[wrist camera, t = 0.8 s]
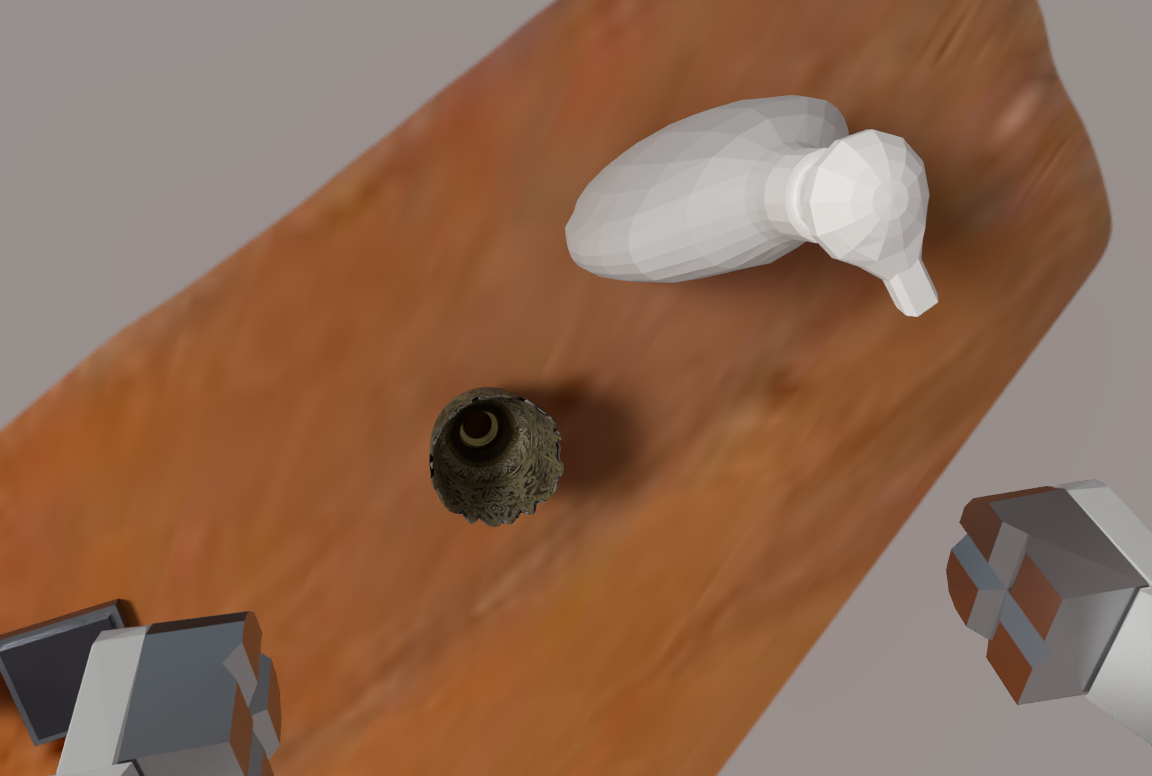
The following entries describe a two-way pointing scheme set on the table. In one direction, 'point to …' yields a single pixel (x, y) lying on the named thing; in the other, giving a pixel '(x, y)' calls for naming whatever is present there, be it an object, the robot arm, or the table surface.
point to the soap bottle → (758, 199)
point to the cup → (495, 457)
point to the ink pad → (53, 666)
